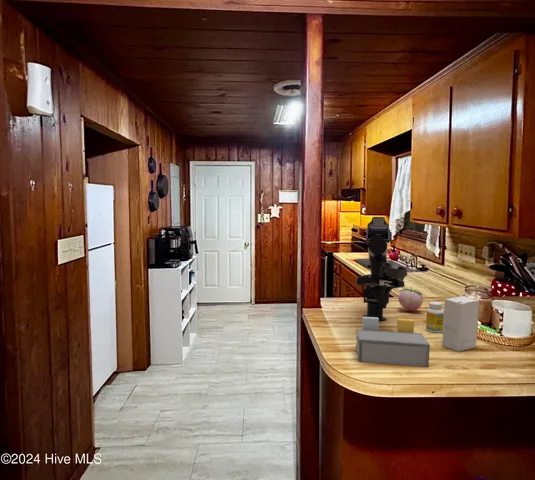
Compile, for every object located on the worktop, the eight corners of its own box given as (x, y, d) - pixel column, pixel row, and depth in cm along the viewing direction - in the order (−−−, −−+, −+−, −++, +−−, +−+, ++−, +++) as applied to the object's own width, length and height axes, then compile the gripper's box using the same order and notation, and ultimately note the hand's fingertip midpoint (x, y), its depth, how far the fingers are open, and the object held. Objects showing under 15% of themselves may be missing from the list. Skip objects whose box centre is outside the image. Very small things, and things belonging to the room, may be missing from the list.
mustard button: (396, 344, 114) (397, 318, 114) (411, 345, 114) (413, 319, 113) (402, 357, 105) (403, 328, 104) (419, 358, 104) (420, 329, 104)
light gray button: (361, 342, 116) (362, 316, 115) (376, 343, 115) (378, 317, 115) (364, 354, 107) (365, 326, 106) (381, 355, 106) (382, 327, 105)
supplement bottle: (431, 327, 135) (433, 300, 134) (446, 331, 131) (447, 303, 130) (422, 329, 132) (423, 302, 131) (436, 334, 128) (438, 305, 127)
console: (356, 349, 113) (357, 329, 113) (420, 353, 110) (421, 333, 110) (358, 361, 104) (359, 340, 104) (428, 366, 102) (429, 344, 101)
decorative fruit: (424, 310, 156) (425, 286, 155) (420, 315, 149) (421, 290, 148) (400, 307, 161) (401, 283, 160) (395, 311, 154) (396, 287, 153)
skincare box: (459, 341, 121) (462, 295, 119) (477, 348, 115) (480, 299, 114) (440, 345, 117) (443, 297, 116) (458, 352, 112) (461, 302, 110)
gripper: (381, 252, 117) (387, 304, 113) (415, 259, 128) (422, 307, 124) (352, 260, 125) (357, 308, 121) (387, 266, 137) (392, 310, 132)
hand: (383, 308), depth 124 cm, fingers closed
